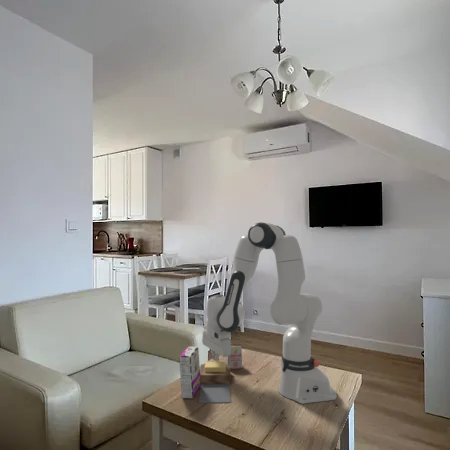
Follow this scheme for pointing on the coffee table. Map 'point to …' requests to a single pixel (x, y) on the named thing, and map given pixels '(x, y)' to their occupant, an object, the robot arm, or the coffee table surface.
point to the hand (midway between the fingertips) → (215, 359)
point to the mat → (215, 393)
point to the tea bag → (235, 358)
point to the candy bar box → (190, 372)
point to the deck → (215, 376)
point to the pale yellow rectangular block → (215, 367)
